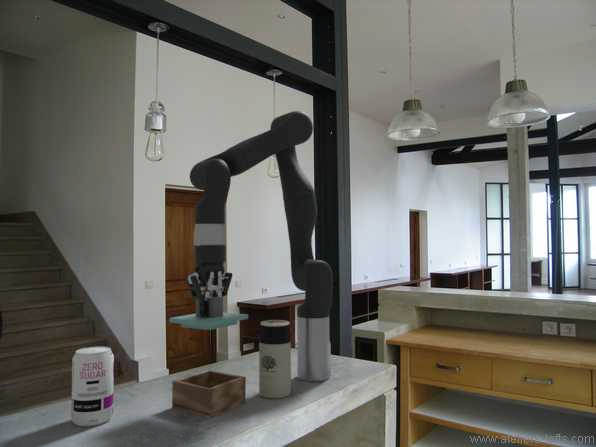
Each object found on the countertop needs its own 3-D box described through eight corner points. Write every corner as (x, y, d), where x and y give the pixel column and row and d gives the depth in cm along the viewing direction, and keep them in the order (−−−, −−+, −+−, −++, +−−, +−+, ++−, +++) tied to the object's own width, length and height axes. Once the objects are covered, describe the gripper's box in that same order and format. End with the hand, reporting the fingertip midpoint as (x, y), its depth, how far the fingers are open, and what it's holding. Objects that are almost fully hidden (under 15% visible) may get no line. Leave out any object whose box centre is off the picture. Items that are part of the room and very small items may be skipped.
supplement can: (100, 410, 107) (101, 344, 107) (120, 419, 102) (121, 349, 102) (64, 421, 101) (65, 350, 101) (82, 430, 95) (84, 356, 96)
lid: (209, 319, 120) (209, 293, 121) (248, 323, 113) (247, 295, 114) (169, 327, 110) (169, 298, 110) (209, 332, 102) (209, 301, 103)
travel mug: (274, 387, 124) (274, 318, 125) (297, 393, 119) (297, 321, 120) (252, 394, 118) (252, 322, 119) (276, 401, 113) (275, 325, 114)
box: (209, 393, 119) (209, 369, 119) (245, 402, 112) (245, 377, 112) (172, 407, 109) (172, 381, 109) (209, 417, 102) (209, 389, 102)
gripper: (219, 243, 120) (219, 311, 119) (176, 243, 109) (176, 318, 108) (241, 243, 116) (241, 313, 115) (199, 243, 104) (199, 321, 104)
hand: (209, 315), depth 111 cm, fingers closed on lid, 3 cm apart
